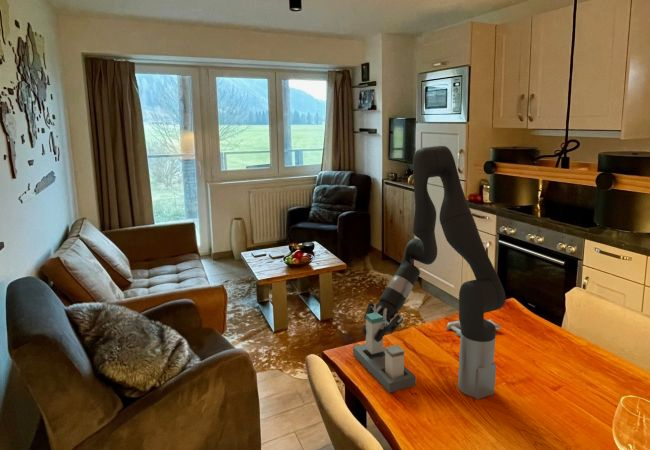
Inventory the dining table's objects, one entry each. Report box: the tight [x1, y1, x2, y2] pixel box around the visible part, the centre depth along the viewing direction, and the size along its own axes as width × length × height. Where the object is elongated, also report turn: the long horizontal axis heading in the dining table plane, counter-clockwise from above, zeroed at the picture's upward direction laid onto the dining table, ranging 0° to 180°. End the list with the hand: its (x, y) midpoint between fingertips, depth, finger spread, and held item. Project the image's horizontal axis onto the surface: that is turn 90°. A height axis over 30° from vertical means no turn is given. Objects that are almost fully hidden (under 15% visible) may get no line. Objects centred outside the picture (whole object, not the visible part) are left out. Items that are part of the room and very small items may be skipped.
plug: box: [365, 312, 384, 354], centre depth 138 cm, size 4×4×12 cm
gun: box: [446, 319, 501, 338], centre depth 160 cm, size 18×3×10 cm
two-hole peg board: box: [352, 343, 417, 393], centre depth 135 cm, size 23×9×10 cm, turn 23°
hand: (370, 337), depth 137 cm, fingers closed on plug, 5 cm apart
